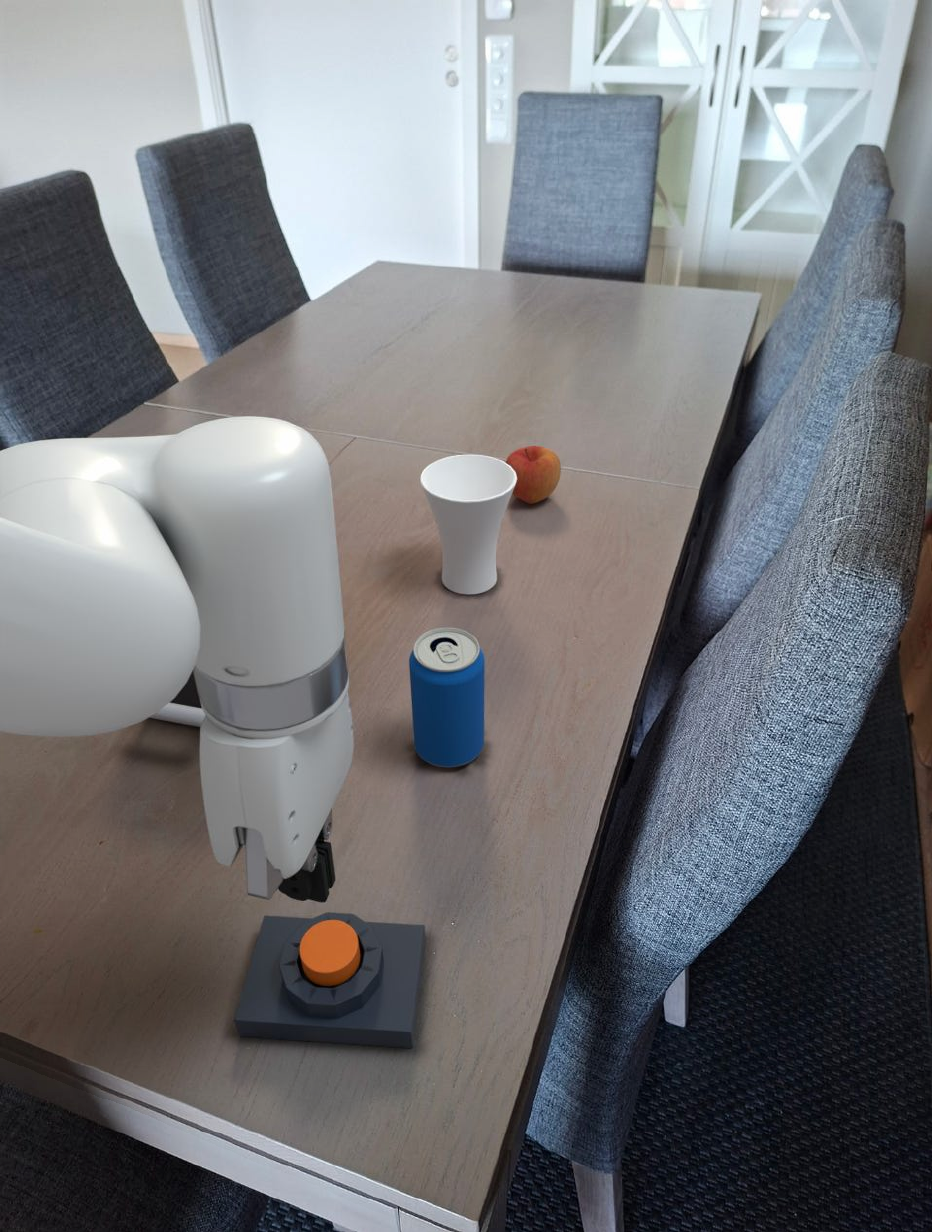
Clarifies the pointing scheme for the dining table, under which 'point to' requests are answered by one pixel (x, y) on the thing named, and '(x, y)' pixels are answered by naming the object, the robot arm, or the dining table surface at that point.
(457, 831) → the dining table surface
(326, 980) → the button
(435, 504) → the cup
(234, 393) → the dining table surface
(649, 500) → the dining table surface
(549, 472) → the apple
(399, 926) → the control block
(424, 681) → the beverage can
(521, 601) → the dining table surface
